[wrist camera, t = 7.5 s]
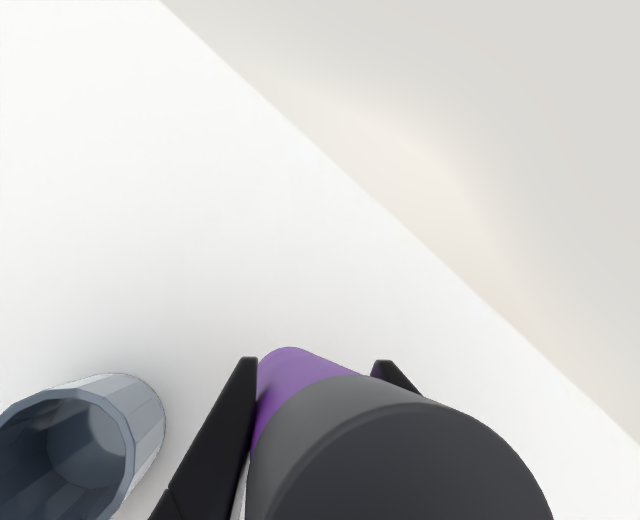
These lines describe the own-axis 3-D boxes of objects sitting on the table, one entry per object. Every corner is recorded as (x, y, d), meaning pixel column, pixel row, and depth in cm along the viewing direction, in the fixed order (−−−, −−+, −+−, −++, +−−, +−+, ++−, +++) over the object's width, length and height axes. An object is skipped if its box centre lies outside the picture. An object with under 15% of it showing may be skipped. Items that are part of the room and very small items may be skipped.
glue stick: (290, 441, 15) (447, 913, 3) (233, 389, 15) (155, 642, 3) (340, 380, 16) (621, 546, 4) (286, 329, 16) (397, 336, 4)
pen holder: (101, 517, 19) (42, 591, 14) (17, 438, 19) (-75, 481, 14) (188, 423, 21) (166, 456, 15) (111, 350, 21) (62, 358, 15)
